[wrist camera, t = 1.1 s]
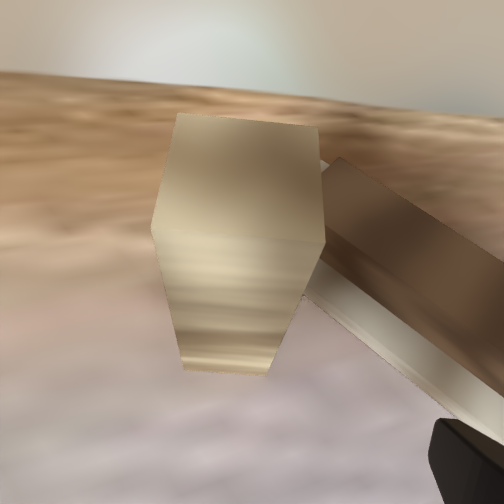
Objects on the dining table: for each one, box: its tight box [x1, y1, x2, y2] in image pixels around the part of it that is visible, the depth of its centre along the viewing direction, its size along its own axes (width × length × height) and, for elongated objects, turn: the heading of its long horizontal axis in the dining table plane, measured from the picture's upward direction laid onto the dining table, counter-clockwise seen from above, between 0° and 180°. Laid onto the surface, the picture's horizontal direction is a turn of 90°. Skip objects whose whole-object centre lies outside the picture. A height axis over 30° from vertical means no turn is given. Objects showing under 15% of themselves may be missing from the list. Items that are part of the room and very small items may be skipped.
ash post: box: [151, 113, 326, 376], centre depth 16 cm, size 4×4×13 cm
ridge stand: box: [303, 157, 504, 445], centre depth 21 cm, size 30×9×4 cm, turn 48°
